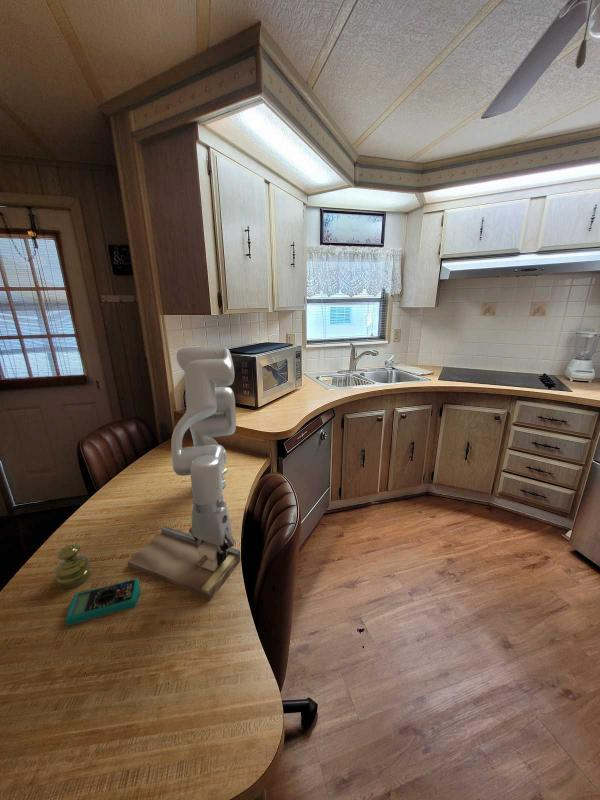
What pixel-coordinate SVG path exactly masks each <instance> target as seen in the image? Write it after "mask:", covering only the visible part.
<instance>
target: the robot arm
mask: <svg viewBox="0 0 600 800" xmlns="http://www.w3.org/2000/svg"><path fill="white" fill-rule="evenodd" d="M176 360H177V363H178V366H179V367H180V369H181V370H182V371H183V372H184V385H185V400H186V401H185V403H186V411H185V412H184V414H183V415H182V416H181V418H180V419H179V421H178V422H177V423H176V425H175V427H174V429H173V431H172V432H173V433H172V436H171V441H170V442H171V464H172V470H173V472H174V473H175V474H176V475H177V476H182V477H183V476H185V477H186V476H190V485H191V490H192V491H191V492H192V494H191V495H192V502H193V503H192V504H193V506H192V509H191V527H190V529H188V533H189V534H191V535H192V536H193V537H194V539H195V540H196V541H197V546H200V545H201V544H202V543H203V542H204V541H206V542H209V543H213V544H216V547H217V549H218V553H217V562H218V565H219V566H220V565H221V564H222V563H223V561H225V560H226V550H227V549H228V548H230V547H231V548H233V547H234V546H235V544H236V543H237V542H236V540H235V539H234V537H233V536H232V532H233V531H232V524H231V523H232V522H231V518H230V517H231V516H230V514H229V513H230V512H229V509H228V507H227V502H226V501H224V493H223V489H225V487H226V479H225V478H223V477H224V475H225V474H227V472H228V469H227V468H224V467H225V465H226V464H227V458H228V454H227V450H226V449H225V448H224V446H223V445H221V444H219V443H218V442H217V441H216V439H214V438H216V437H225V436H231V435H234V434H235V432H236V429H237V415H236V414H237V413H236V398H235V393H234V390H233V389H232V388H231V387H230V386H231V385H233V383H234V382H235V367H234V366H235V365H234V362H233V358H232V354H231V351H230V350H229V348H227V347H224V346H194V347H183V348H180V349H178V350H177V352H176ZM188 430H190V434H191V437H192V438H191V439H192V441H193V442H192V443H193V446H186V447H183V440H184V439H183V438H184V436H185V433H186V432H187V431H188ZM221 545H223V546H221Z"/></svg>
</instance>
